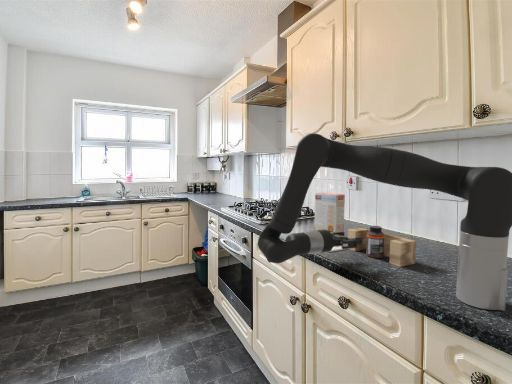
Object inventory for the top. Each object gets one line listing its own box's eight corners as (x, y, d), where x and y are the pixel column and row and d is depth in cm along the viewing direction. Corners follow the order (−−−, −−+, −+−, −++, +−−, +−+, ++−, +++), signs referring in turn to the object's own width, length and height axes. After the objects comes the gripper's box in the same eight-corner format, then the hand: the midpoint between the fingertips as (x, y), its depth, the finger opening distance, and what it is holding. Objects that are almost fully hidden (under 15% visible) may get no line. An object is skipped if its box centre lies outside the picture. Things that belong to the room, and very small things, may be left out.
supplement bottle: (369, 252, 110) (370, 224, 109) (385, 255, 106) (386, 226, 105) (363, 256, 105) (365, 226, 104) (380, 259, 102) (382, 228, 101)
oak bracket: (399, 266, 94) (400, 243, 93) (347, 248, 116) (348, 229, 115) (415, 263, 98) (416, 240, 97) (361, 246, 119) (362, 227, 118)
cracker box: (344, 238, 132) (345, 194, 130) (335, 240, 129) (336, 194, 127) (322, 232, 144) (323, 192, 142) (313, 234, 141) (314, 192, 139)
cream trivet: (346, 249, 114) (347, 247, 114) (327, 252, 110) (327, 251, 110) (330, 243, 123) (330, 242, 123) (311, 246, 119) (311, 244, 119)
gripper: (330, 235, 87) (368, 231, 94) (303, 226, 99) (338, 223, 106) (329, 259, 87) (367, 253, 94) (302, 247, 100) (337, 242, 107)
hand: (352, 237), depth 100 cm, fingers open, 8 cm apart
